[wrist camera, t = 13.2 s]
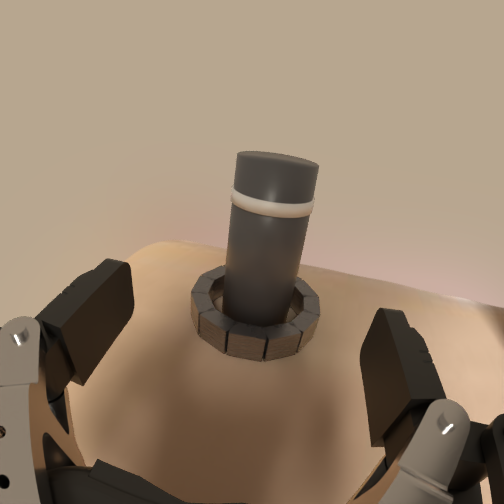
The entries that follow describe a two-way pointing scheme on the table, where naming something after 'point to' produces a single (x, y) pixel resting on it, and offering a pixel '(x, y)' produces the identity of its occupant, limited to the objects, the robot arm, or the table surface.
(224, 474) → the table surface
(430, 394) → the robot arm
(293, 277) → the dark grey canister
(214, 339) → the block ring
